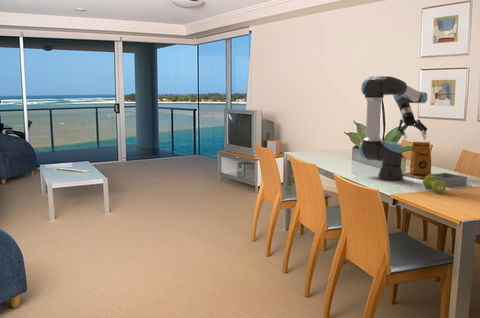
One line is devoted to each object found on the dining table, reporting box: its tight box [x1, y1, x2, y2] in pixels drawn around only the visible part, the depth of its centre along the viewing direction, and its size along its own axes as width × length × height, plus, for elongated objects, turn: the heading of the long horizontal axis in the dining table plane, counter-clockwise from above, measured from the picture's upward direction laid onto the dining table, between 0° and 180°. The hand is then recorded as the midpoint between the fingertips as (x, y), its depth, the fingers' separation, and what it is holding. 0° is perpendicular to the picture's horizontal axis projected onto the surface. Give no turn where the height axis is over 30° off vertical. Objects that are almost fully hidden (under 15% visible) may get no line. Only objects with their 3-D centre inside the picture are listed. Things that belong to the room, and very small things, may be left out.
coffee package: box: [409, 141, 432, 175], centre depth 290 cm, size 10×12×22 cm
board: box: [402, 171, 433, 181], centre depth 292 cm, size 20×18×1 cm
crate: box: [427, 172, 468, 189], centre depth 267 cm, size 17×15×5 cm
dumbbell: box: [422, 176, 447, 194], centre depth 249 cm, size 16×8×7 cm, turn 178°
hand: (415, 138), depth 299 cm, fingers open, 13 cm apart
